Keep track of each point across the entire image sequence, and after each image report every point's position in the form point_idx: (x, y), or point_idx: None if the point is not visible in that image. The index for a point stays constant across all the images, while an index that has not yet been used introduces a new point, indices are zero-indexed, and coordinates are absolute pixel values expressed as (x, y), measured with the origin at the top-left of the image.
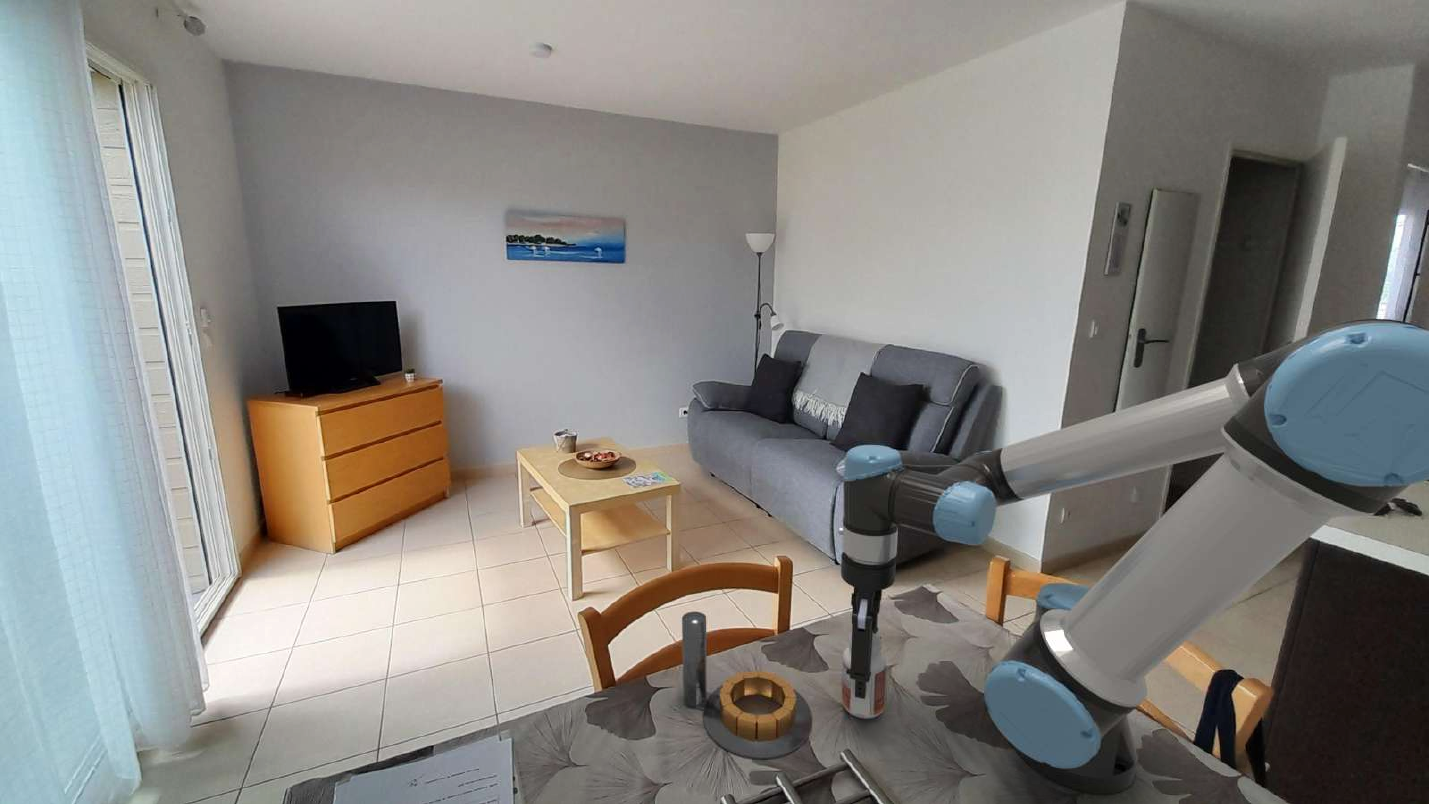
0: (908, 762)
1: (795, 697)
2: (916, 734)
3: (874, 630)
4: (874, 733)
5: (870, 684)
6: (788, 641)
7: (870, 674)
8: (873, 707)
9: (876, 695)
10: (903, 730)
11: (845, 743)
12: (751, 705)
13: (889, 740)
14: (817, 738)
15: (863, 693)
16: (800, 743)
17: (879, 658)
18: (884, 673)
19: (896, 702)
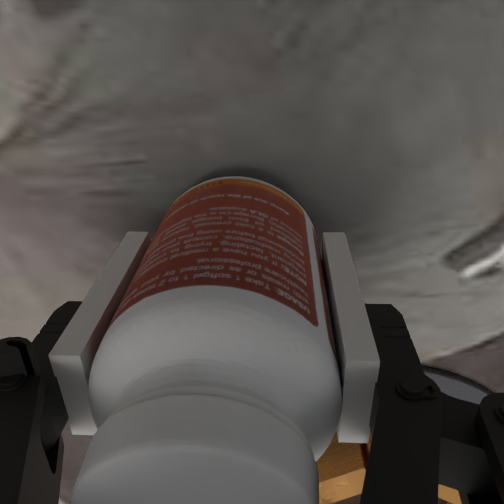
0: (473, 46)
1: (365, 468)
2: (301, 22)
3: (23, 482)
4: (347, 186)
5: (368, 325)
6: None
7: (427, 390)
8: (307, 229)
9: (301, 246)
10: (295, 80)
11: (421, 269)
12: (350, 501)
13: (368, 130)
14: (418, 343)
15: (406, 332)
16: (465, 383)
17: (236, 359)
18: (241, 268)
19: (139, 121)
